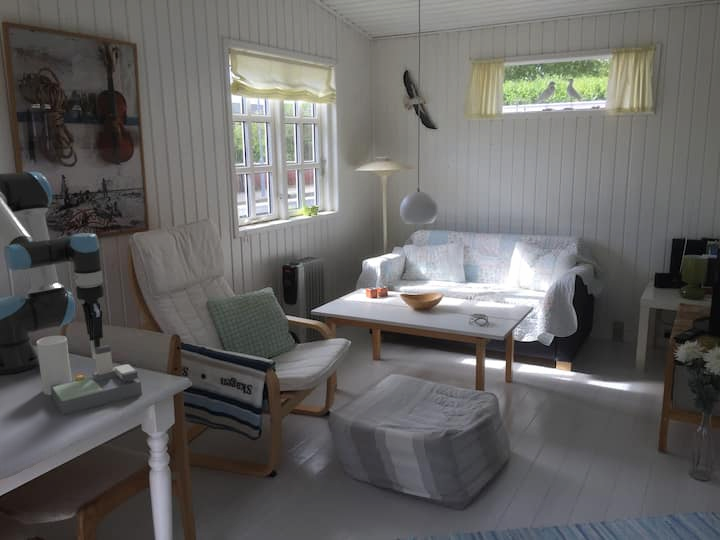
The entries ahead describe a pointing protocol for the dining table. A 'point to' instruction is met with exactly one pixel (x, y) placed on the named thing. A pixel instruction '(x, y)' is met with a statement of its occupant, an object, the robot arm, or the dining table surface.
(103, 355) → the light grey rectangular block
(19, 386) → the dining table surface
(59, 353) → the cup
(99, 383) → the panel
